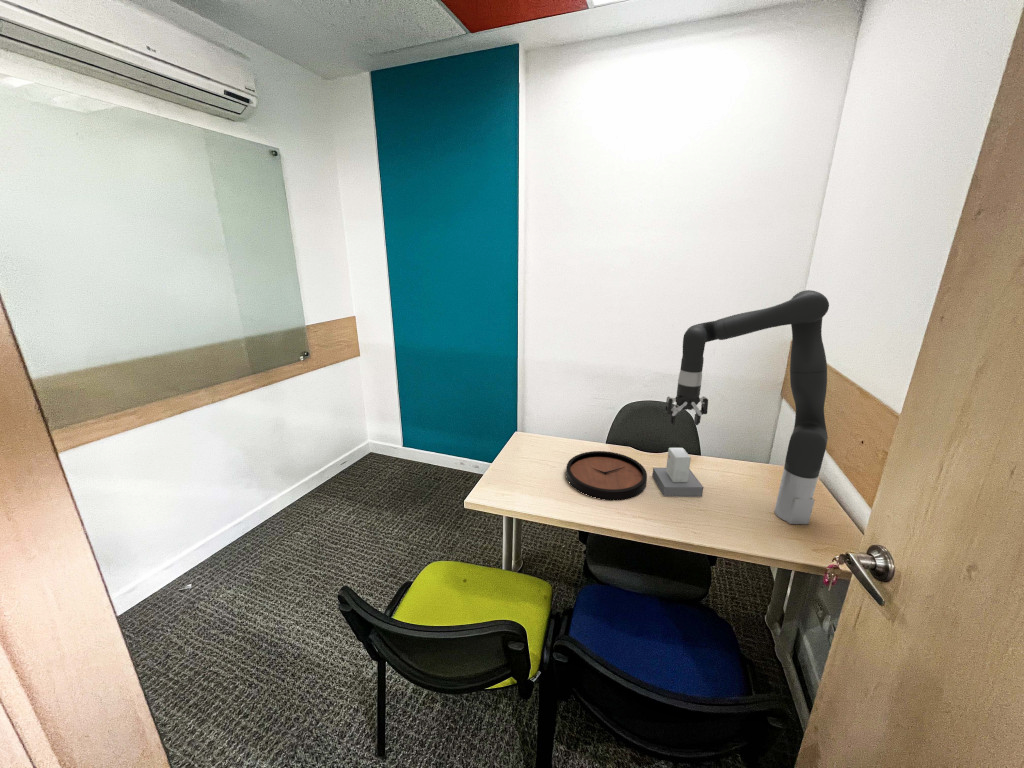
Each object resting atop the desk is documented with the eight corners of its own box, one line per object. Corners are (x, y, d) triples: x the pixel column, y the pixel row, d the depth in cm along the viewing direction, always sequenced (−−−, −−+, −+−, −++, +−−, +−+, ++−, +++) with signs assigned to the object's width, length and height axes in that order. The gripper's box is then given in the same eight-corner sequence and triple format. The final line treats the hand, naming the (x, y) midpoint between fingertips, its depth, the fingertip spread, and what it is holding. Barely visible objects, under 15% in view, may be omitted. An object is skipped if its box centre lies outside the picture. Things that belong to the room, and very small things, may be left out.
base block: (702, 496, 146) (703, 487, 145) (663, 496, 147) (664, 487, 146) (687, 476, 160) (688, 467, 159) (652, 476, 160) (653, 467, 159)
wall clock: (567, 489, 146) (565, 449, 175) (567, 499, 147) (565, 457, 176) (655, 493, 142) (638, 452, 172) (654, 503, 144) (637, 460, 173)
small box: (687, 482, 148) (691, 457, 145) (672, 482, 148) (675, 457, 145) (680, 471, 156) (683, 447, 153) (665, 471, 156) (668, 447, 153)
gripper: (672, 385, 137) (667, 428, 142) (714, 385, 136) (708, 428, 141) (665, 379, 144) (661, 420, 149) (705, 379, 144) (699, 420, 149)
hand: (684, 424), depth 145 cm, fingers open, 8 cm apart
